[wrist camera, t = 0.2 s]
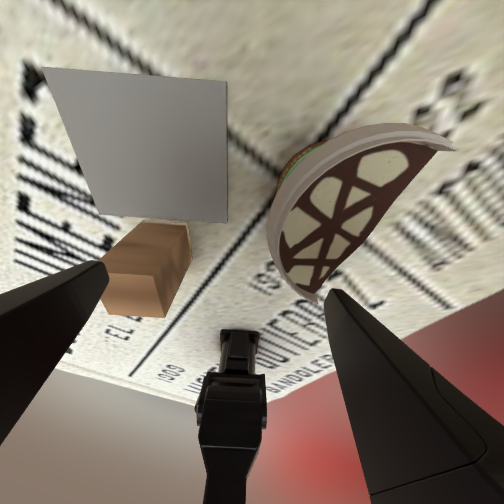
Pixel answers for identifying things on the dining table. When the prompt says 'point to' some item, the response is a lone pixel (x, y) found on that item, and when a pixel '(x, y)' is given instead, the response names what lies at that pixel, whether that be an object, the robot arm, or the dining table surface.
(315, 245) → the food container
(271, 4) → the dining table surface
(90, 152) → the mat
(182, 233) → the block
